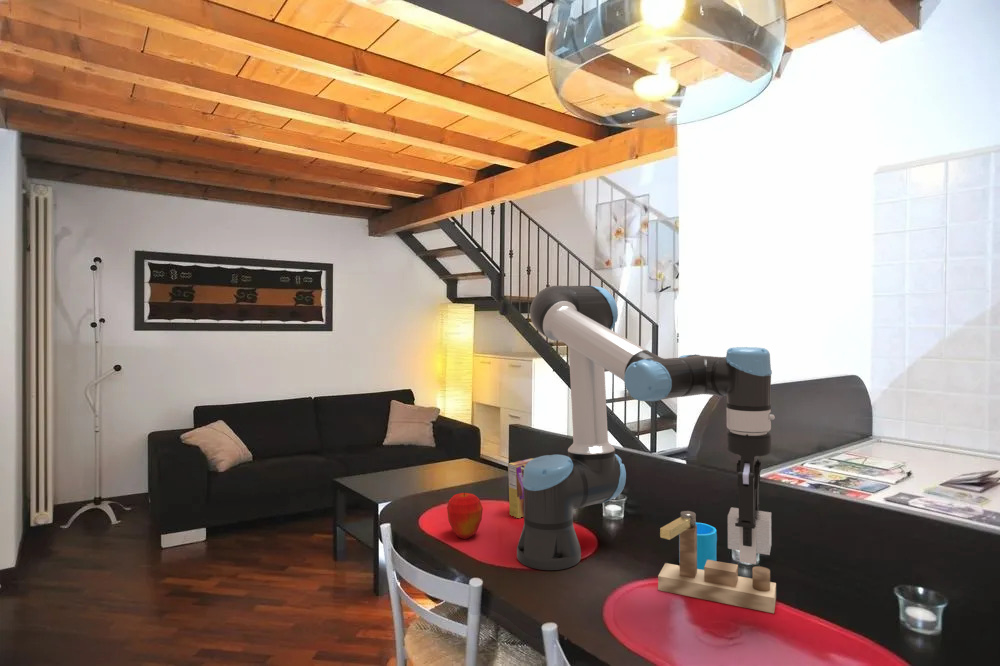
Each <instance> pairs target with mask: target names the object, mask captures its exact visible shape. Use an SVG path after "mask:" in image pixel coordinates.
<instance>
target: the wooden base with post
mask: <svg viewBox="0 0 1000 666" xmlns="http://www.w3.org/2000/svg"><path fill="white" fill-rule="evenodd" d="M678 537H679V538H678V550H679V549H680V563H679V565H678V564H673V563H668V562H664V565H663V567H662V568H661V570H660V572H659V574H658V575H657V590H658V591H660V592H661V591H662V592H666V593H672V594H676V595H681V596H686V597H691V598H695V599H700V600H705V601H711V602H716V603H719V604H720V603H721V604H726V605H730V606H735V607H740V608H745V609H750V610H755V611H759V612H765V613H769V614H775V611H776V610H775V609H776V601H777V583H776V582H772V581H771V569H770V568H768V567H766V566H765V567H764V566H761V565H760V566H757V565H756V566H753V567H752V568H751V569H752V571H751V572H752V578H751V577H745V576H739V564H736V563H730V562H724V561H717V560H716V561H713V560H707V562H706V564H705V566H704V570H701V569H697V525H696V526H695V527H690V528H688V529H687V530H685V531H683V532H682V533H680V534H679V535H678Z"/></svg>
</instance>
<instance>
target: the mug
mask: <svg viewBox="0 0 1000 666" xmlns="http://www.w3.org/2000/svg"><path fill="white" fill-rule="evenodd" d="M696 525H697V569H701V570H704V566H705V564H706V562H707V560H713V561H717V543H718V542H717V541H718V534H717V529H716V527H714V526H712V525H710V524H707V523H702V522H696ZM678 551H679V553H678V555H679V556H678V558H679V559H678V563H679V564H680V549H679V548H678Z"/></svg>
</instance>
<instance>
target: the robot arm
mask: <svg viewBox="0 0 1000 666" xmlns="http://www.w3.org/2000/svg"><path fill="white" fill-rule="evenodd" d="M618 309H619V308H618V306H617V302H616V300H615V298H614V296H613V295H612V294H611V293H610V292H609V290H607V289H606V288H604V287H601V286H595V285H551V286H547V287H546V288H542V290H540V291H539V292H538V293H537V294H536V295H535V296H534V298H533V300H532V301H531V304H530V308H529V314H530V315H529V316H530V320H531V322H532V325H533V327H534V328H535V329H536V331H538V332H539V333H540V334H541V335H543V336H544V337H546V338H548V339H549V340H551V341H556V342H557V341H561V342H562V343H564V344H565V345H566V346H567V347H568V355H569V356H568V358H569V359H568V360H569V361H568V362H569V377H570V399H571V419H572V421H571V422H572V423H571V424H572V436H573V440H572V441H573V442H572V444H571V445H570V446H569V447H568V449H567V455H564V454H550V455H549V454H546V455H545V454H544V455H540V456H536V457H533V458H531V459H532V460H530V461H529V462H528V463H527V464H526V465H525V468H524V475H523V491H524V517H523V527H522V530H521V533H520V537H519V538H518V539H519V540H518V543H517V547H516V558H517V560H518V562H520V564H522V565H524V566H526V567H528V568H531V569H536V570H540V571H541V570H542V571H559V570H566V569H569V568H572V567H574V566H577V564H579V563H580V561H581V559H582V549H581V545H580V541H579V539H578V536H577V534H576V531H575V526H574V510H576V509H579V508H584V507H588V506H592V505H598V504H604V503H606V502H608V501H612V500H614V499H616V498H618V497H619V495H620V494H622V492H623V490H624V488H625V486H626V481H627V480H626V479H627V472H626V467H625V464H624V463H622V461H623V460H622V458H621V457H620V456H619V455H618V454H616V449H615V447H614V446H613V445H612V444H611V443H610V442H609V434H608V415H607V413H608V411H607V394H606V373H605V372H606V371H608V372H610V373H611V374H613V375H615V376H616V377H618V378H619V379H621V380H622V381H624V387H625V389H626V390H627V391H628V393H629V396H630V397H632V398H633V399H634V400H636V401H638V402H658V401H661V400H668V399H669V400H670V399H675V398H684V397H691V396H698V395H699V396H700V395H710V396H719V397H726V428H727V429H728V432H727V433H726V449H727V451H728V452H729V453H731V454H734V455H739V456H740V459H738V460H737V463H736V472H737V487H738V508H739V521H738V523H735V526H737V527H740V550H739V562H741V563H747V564H753V565H756V564H757V553H756V524H755V510H756V511H764V510H762V509H759V508H760V489H759V488H760V487H759V486H760V483H761V471H762V461H760V458H759V457H764V456H769V455H770V454H771V453H772V435H771V434H770V433H769V432H770V431H771V429H772V421H774V420H775V418H776V417H775V414H771V408H772V407H771V405H772V404H771V399H772V398H771V393H772V392H771V388H772V386H771V385H772V374H773V372H772V368H771V366H772V365H771V353H770V352H769V350H768V349H766V348H765V347H759V346H758V347H757V346H755V347H748V346H744V347H743V346H740V347H739V346H736V347H729V348H728V349H727V350H726V356H711V355H700V354H683V355H679V356H678V357H671V358H670V357H669V358H664V357H661V356H659V355H657V354H655V353H653V352H651V351H650V350H648V349H646V348H645V347H643V346H640V345H639V344H637V343H635V342H633V341H631V340H630V339H628V338H626V337H624V336H622V335H620V334H619V333H617V332H615V331H613V329H614V327H615V326H616V323H617V321H618V317H619V310H618ZM605 370H606V371H605Z"/></svg>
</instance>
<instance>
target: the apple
mask: <svg viewBox="0 0 1000 666" xmlns="http://www.w3.org/2000/svg"><path fill="white" fill-rule="evenodd" d="M446 509H447V511H446V512H447V519H448V523H449V525H450V527H451V530H452V532H453V533H454V534H456V536H457V537H458V538H461V539H465V540H466V539H469V538H471V537H472V536H473V535H475V534H476V533H477V531H478V530H479V527H480V525H481V522H482V519H483V511H484V510H483V505H482V503H481V500H480V498H479V497H478V496H477V495H475V494H474V493H469V492H465V491H463V492H459V493H456V494H454V495H453V496H452V497H451V498H449V500H448V502H447V505H446Z"/></svg>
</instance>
